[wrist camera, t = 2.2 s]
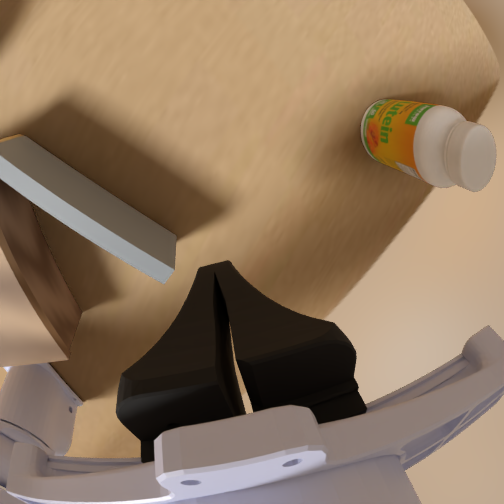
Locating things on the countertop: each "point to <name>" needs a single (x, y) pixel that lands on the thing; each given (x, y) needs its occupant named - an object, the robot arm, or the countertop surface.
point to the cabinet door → (87, 207)
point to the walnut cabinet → (31, 290)
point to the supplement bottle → (429, 143)
